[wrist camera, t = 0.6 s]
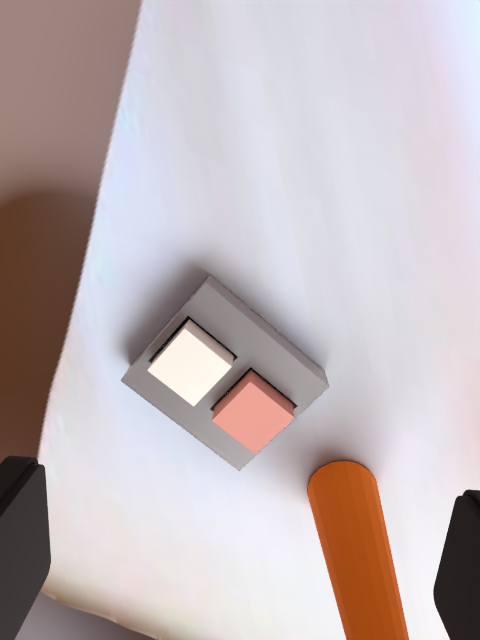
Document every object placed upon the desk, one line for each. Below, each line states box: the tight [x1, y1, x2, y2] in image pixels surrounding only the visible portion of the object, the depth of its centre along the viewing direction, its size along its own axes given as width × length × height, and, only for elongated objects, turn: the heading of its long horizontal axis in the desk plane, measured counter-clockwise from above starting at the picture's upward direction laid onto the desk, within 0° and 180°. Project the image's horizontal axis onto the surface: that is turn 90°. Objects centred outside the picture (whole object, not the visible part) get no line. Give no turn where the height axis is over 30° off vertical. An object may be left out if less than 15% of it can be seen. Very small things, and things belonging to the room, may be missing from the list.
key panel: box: [121, 275, 329, 471], centre depth 41 cm, size 12×14×3 cm
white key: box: [147, 319, 234, 406], centre depth 38 cm, size 5×5×2 cm
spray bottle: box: [307, 461, 409, 640], centre depth 34 cm, size 7×11×26 cm, turn 157°
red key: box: [212, 370, 295, 454], centre depth 39 cm, size 5×5×2 cm
